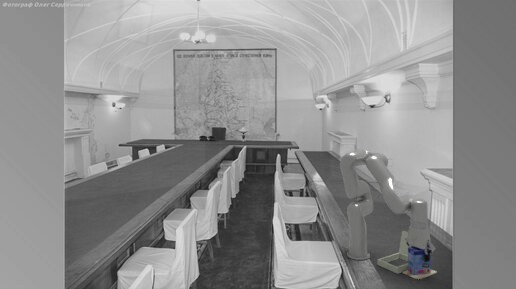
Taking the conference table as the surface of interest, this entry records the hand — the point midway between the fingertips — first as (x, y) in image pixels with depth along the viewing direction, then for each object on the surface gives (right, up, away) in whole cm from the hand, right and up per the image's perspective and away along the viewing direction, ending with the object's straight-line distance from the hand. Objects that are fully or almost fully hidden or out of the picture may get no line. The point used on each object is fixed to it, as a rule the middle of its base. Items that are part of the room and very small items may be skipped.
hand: (419, 258), depth 176 cm
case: (-5, -7, +12) cm, 14 cm away
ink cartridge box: (0, -7, 0) cm, 7 cm away
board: (0, -7, +1) cm, 8 cm away
